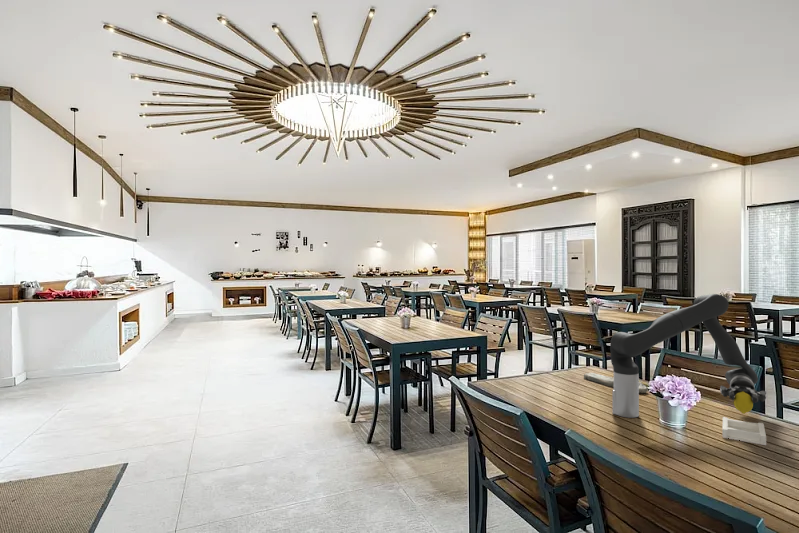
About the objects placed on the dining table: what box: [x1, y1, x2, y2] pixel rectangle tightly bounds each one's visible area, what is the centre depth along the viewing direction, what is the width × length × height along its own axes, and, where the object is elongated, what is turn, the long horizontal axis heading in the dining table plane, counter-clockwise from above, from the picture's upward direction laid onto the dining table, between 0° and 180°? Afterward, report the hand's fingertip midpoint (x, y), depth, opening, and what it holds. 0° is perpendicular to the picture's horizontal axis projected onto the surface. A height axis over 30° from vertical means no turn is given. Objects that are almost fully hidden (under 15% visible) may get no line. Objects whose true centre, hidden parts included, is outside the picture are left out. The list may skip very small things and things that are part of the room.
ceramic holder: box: [721, 416, 767, 446], centre depth 161 cm, size 12×15×3 cm
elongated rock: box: [583, 372, 649, 394], centre depth 226 cm, size 35×5×10 cm
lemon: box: [733, 391, 754, 415], centre depth 161 cm, size 6×6×8 cm
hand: (743, 398), depth 159 cm, fingers closed on lemon, 5 cm apart
